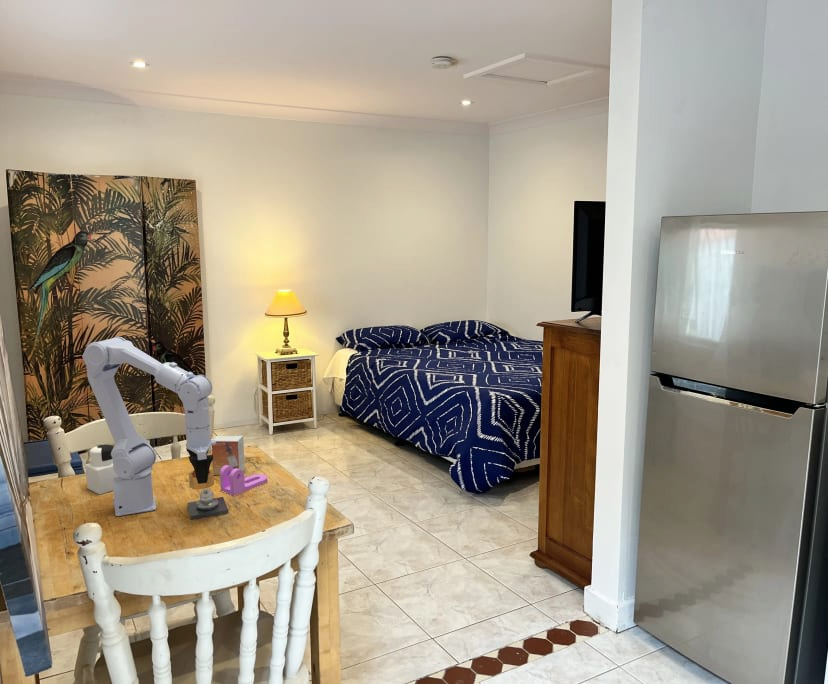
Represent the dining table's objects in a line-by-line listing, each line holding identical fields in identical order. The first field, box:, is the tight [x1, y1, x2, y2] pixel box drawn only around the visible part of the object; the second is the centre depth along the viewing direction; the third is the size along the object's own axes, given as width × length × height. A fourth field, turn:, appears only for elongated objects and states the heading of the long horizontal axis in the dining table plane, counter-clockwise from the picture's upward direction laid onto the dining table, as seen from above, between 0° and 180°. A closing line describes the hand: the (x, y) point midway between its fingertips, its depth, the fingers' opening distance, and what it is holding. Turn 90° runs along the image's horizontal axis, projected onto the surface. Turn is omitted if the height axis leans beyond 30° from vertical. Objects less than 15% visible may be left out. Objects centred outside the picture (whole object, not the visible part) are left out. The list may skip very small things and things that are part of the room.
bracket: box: [219, 465, 268, 497], centre depth 186 cm, size 13×6×7 cm, turn 143°
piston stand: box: [186, 488, 229, 521], centre depth 171 cm, size 9×9×6 cm
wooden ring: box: [188, 468, 215, 490], centre depth 167 cm, size 6×6×3 cm
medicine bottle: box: [84, 444, 118, 495], centre depth 185 cm, size 7×7×12 cm
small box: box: [211, 435, 246, 476], centre depth 197 cm, size 8×6×10 cm
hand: (201, 478), depth 167 cm, fingers closed on wooden ring, 6 cm apart
